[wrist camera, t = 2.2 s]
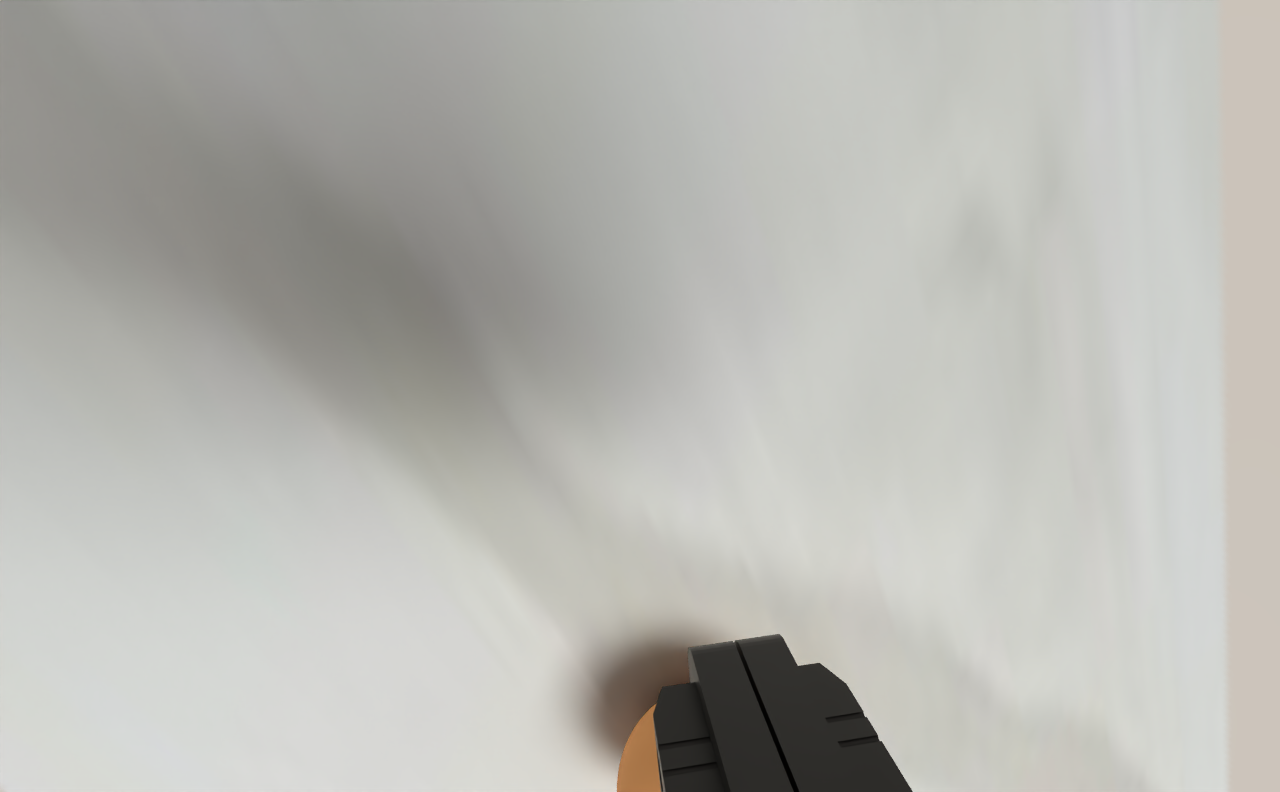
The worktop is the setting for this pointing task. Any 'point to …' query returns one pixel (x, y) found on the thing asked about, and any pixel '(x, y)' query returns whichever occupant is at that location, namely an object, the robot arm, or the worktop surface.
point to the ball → (640, 759)
